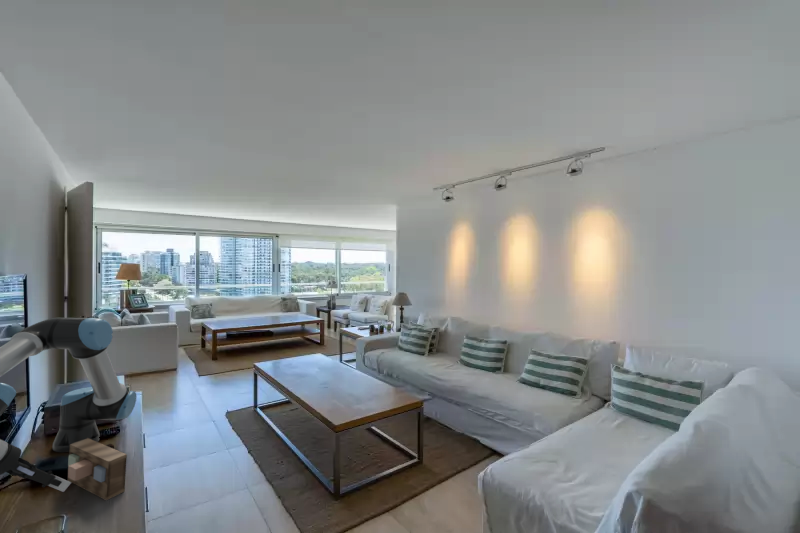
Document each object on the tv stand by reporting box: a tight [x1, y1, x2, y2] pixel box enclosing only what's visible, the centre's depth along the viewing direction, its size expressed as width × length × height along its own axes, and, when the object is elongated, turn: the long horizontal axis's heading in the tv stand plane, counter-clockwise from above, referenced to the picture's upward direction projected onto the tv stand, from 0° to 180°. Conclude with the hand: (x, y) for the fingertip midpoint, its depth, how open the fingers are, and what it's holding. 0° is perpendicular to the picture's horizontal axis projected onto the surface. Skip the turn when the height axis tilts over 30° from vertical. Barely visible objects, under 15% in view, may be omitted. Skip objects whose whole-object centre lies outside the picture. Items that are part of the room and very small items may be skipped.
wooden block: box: [67, 438, 128, 501], centre depth 128 cm, size 24×6×13 cm, turn 66°
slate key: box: [93, 465, 106, 482], centre depth 124 cm, size 4×5×4 cm
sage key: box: [67, 453, 80, 467], centre depth 130 cm, size 4×5×4 cm
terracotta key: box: [67, 459, 93, 481], centre depth 124 cm, size 4×5×4 cm
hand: (66, 486), depth 113 cm, fingers closed
